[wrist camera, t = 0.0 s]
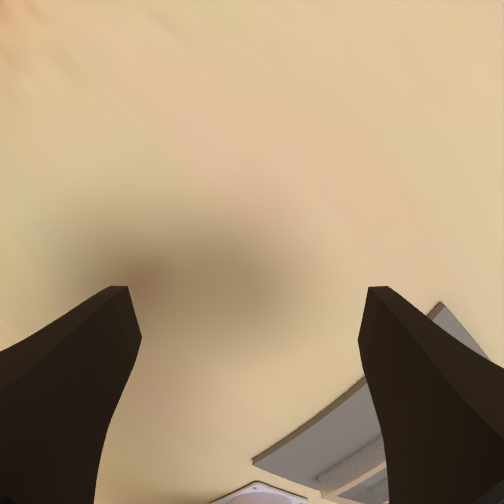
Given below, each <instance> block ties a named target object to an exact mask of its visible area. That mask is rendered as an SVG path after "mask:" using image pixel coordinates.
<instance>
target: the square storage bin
mask: <svg viewBox="0 0 504 504" xmlns="http://www.w3.org/2000/svg"><path fill="white" fill-rule="evenodd" d="M385 467H387V466H386V458H385V451H384V443H383V438H382V434H381V435H380V436H379V437H377V438H376V439H374V440H373V441H372V442H370V443H369V444H367V445H366V446H364V447H363V448H361V449H360V450H358V451H357V452H355V453H354V454H352V455H351V456H349V457H348V458H346V459H345V460H343V461H341V462H340V463H338V464H336V465H335V466H333V467H331V468H330V469H328V470H326V471H325V472H323V473H321V474H319V482H320V492H321V498H323V499H327V500H330V501H334V502H337V503H341V504H389V491H388V478H386V479H384V480H383V481H381V482H379V483H378V484H376V485H374V486H368V485H365V484H362V483H361V482H362V481H364V480H366V479H368V478H369V477H371V476H373V475H374V474H376V473H377V472H379V471H381V470H382V469H384V468H385Z"/></svg>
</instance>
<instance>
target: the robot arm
mask: <svg viewBox="0 0 504 504" xmlns="http://www.w3.org/2000/svg"><path fill="white" fill-rule="evenodd" d="M141 339H142V335H141V332H140V329H139V326H138V322H137V319H136V315H135V312H134V308H133V305H132V301H131V297H130V293H129V290H128V286H110V287H108V288H105V289H104V290H102V291H100V292H98V293H97V294H95V295H94V296H92V297H90V298H89V299H87V300H86V301H84V302H83V303H81V304H80V305H78V306H77V307H75V308H74V309H72V310H70V311H69V312H67V313H66V314H64V315H63V316H61V317H60V318H58V319H57V320H55V321H54V322H52V323H50V324H49V325H47V326H46V327H44V328H42V329H41V330H39V331H38V332H36V333H34V334H33V335H31V336H29V337H28V338H26V339H24V340H22V341H20V342H18V343H16V344H15V345H13V346H11V347H9V348H7V349H5V350H3V351H0V504H94V496H95V488H96V480H97V474H98V468H99V463H100V458H101V453H102V449H103V445H104V441H105V437H106V433H107V430H108V427H109V424H110V421H111V418H112V416H113V413H114V411H115V409H116V406H117V404H118V401H119V399H120V397H121V394H122V392H123V390H124V387H125V385H126V383H127V381H128V378H129V376H130V373H131V371H132V369H133V366H134V364H135V361H136V357H137V354H138V350H139V347H140V343H141ZM358 344H359V350H360V356H361V362H362V367H363V371H364V374H365V377H366V381H367V384H368V387H369V391H370V394H371V397H372V401H373V404H374V407H375V411H376V414H377V418H378V421H379V425H380V429H381V433H382V438H383V443H384V451H385V458H386V466H387V478H388V491H389V504H504V368H502V367H500V366H498V365H496V364H495V363H493V362H491V361H489V360H488V359H486V358H485V357H483V356H481V355H480V354H478V353H476V352H475V351H473V350H472V349H470V348H469V347H467V346H466V345H464V344H463V343H461V342H460V341H459V340H457V339H456V338H454V337H453V336H452V335H450V334H449V333H448V332H446V331H445V330H444V329H442V328H441V327H440V326H438V325H437V324H436V323H434V322H433V321H432V320H431V319H429V318H428V317H427V316H426V315H424V314H423V313H422V312H421V311H419V310H418V309H417V308H416V307H414V306H413V305H412V304H411V303H409V302H408V301H407V300H406V299H404V298H403V297H402V296H401V295H399V294H398V293H397V292H395V291H394V290H392V289H391V288H389V287H388V286H378V287H368V292H367V298H366V303H365V308H364V313H363V318H362V323H361V327H360V332H359V336H358ZM307 503H308V499H306V498H303V497H300V496H296V495H293V494H290V493H287V492H285V491H282V490H279V489H276V488H273V487H271V486H268V485H265V484H263V483H260V482H255V483H253V484H251V485H249V486H247V487H245V488H243V489H241V490H239V491H237V492H234V493H232V494H230V495H228V496H226V497H224V498H221V499H219V500H217V501H215V502H212V503H210V504H307Z"/></svg>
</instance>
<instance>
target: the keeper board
mask: <svg viewBox="0 0 504 504" xmlns="http://www.w3.org/2000/svg"><path fill="white" fill-rule="evenodd" d="M427 317H428V318H429V319H431V320H432V321H433V322H434V323H436V324H437V325H438V326H440V327H441V328H442V329H444V330H445V331H446V332H448V333H449V334H450V335H452V336H453V337H454V338H456V339H457V340H459V341H460V342H461V343H463V344H464V345H466V346H467V347H469V348H470V349H472V350H473V351H475V352H476V353H478V354H480V355H481V356H483V357H485V358H486V359H488V360H489V361H491V360H490V359H489V358H488V356H487V355H486V354H485V353H484V351H483V350H482V349H481V348H480V346H479V345H478V344H477V343H476V341H475V340H474V339H473V338H472V336H471V335H470V334H469V333H468V332H467V330H466V329H465V328H464V327H463V326H462V324H461V323H460V322H459V321H458V320H457V319H456V317H455V316H454V315H453V314H452V313H451V312H450V310H449V309H448V308H447V307H446V306H445V305H444V304H443V303H442V302H440V303H439V304H438V305H437V306H436V307H435V308H434V309H433V310H432V312H431V313H430V314H429V315H428V316H427ZM381 434H382V433H381V429H380V425H379V421H378V418H377V414H376V411H375V407H374V404H373V401H372V397H371V394H370V391H369V387H368V384H367V381H366V377H364V378H363V379H361V380H360V381H359V382H358V383H357V384H356V385H354V386H353V387H352V388H351V389H350V390H348V391H347V392H346V393H345V394H344V395H342V396H341V397H340V398H339V399H337V400H336V401H335V402H334V403H332V404H331V405H330V406H328V407H327V408H326V409H325V410H323V411H322V412H321V413H319V414H318V415H317V416H315V417H314V418H313V419H311V420H310V421H309V422H307V423H306V424H304V425H303V426H302V427H300V428H299V429H297V430H296V431H295V432H293V433H292V434H290V435H289V436H287V437H286V438H284V439H283V440H281V441H280V442H278V443H277V444H275V445H274V446H272V447H271V448H269V449H268V450H266V451H265V452H263V453H261V454H260V455H258V456H257V457H255V458H253V462H252V465H253V466H256V467H258V468H260V469H263V470H265V471H267V472H270V473H272V474H275V475H277V476H280V477H282V478H285V479H288V480H290V481H293V482H296V483H298V484H301V485H304V486H307V487H310V488H313V489H316V490H319V491H320V482H319V474H321V473H323V472H325V471H326V470H328V469H330V468H331V467H333V466H335V465H336V464H338V463H340V462H341V461H343V460H345V459H346V458H348V457H349V456H351V455H352V454H354V453H355V452H357V451H358V450H360V449H361V448H363V447H364V446H366V445H367V444H369V443H370V442H372V441H373V440H374V439H376V438H377V437H379V436H380V435H381ZM386 478H387V467H385V468H384V469H382V470H381V471H379V472H377V473H376V474H374V475H373V476H371V477H369V478H368V479H366V480H364V481H362V482H361V483H362V484H365V485H368V486H374V485H376V484H378V483H379V482H381V481H383V480H384V479H386Z"/></svg>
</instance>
